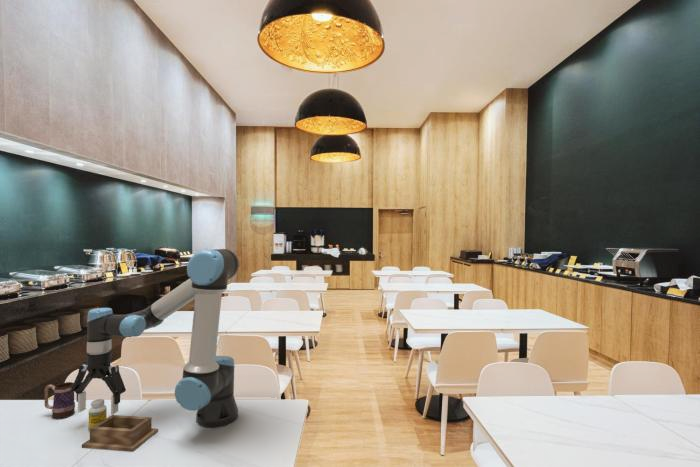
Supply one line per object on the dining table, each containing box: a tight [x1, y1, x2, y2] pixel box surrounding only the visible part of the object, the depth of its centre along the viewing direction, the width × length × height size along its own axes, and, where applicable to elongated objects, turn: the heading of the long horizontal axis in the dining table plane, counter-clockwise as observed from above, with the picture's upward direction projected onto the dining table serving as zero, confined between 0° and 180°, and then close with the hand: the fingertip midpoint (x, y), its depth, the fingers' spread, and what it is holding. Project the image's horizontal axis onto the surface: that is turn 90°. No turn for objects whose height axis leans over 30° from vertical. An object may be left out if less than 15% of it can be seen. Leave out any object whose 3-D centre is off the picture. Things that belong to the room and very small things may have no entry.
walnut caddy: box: [81, 414, 159, 452], centre depth 129 cm, size 18×13×6 cm
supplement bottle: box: [88, 398, 108, 431], centre depth 136 cm, size 5×5×10 cm
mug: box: [43, 381, 76, 420], centre depth 146 cm, size 10×7×12 cm
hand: (98, 412), depth 136 cm, fingers open, 12 cm apart
